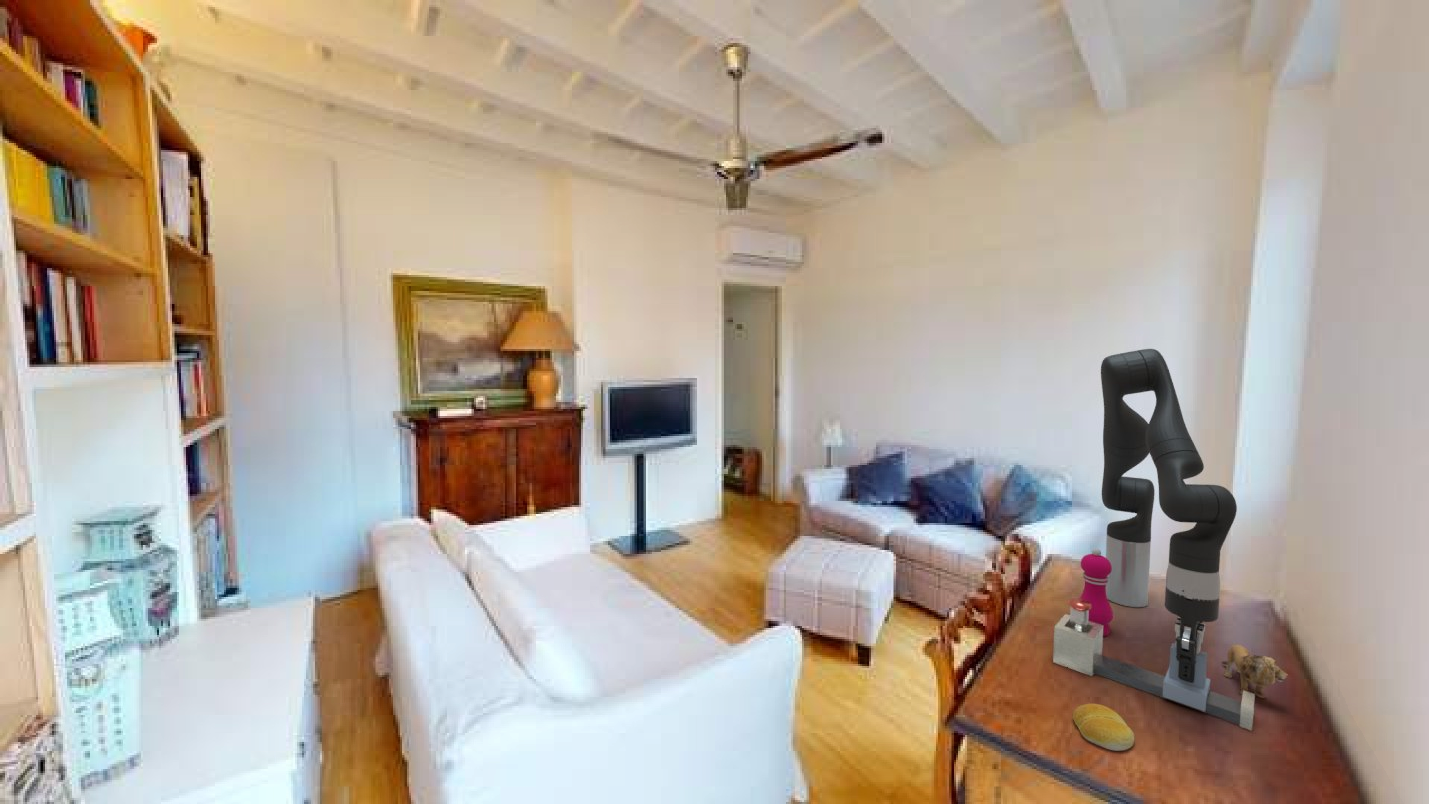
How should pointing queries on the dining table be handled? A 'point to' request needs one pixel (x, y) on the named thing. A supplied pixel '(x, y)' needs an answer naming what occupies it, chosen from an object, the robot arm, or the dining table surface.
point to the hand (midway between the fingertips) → (1187, 676)
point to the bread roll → (1103, 727)
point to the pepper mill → (1097, 588)
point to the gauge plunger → (1079, 614)
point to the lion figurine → (1253, 669)
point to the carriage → (1184, 690)
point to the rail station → (1134, 671)
